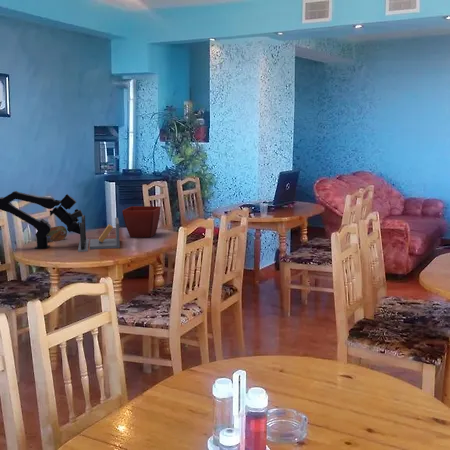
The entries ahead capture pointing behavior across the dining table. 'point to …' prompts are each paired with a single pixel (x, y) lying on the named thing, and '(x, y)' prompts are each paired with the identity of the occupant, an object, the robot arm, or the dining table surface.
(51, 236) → the tin
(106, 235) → the lever
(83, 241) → the stand
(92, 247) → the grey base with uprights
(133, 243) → the dining table surface
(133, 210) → the plant pot
